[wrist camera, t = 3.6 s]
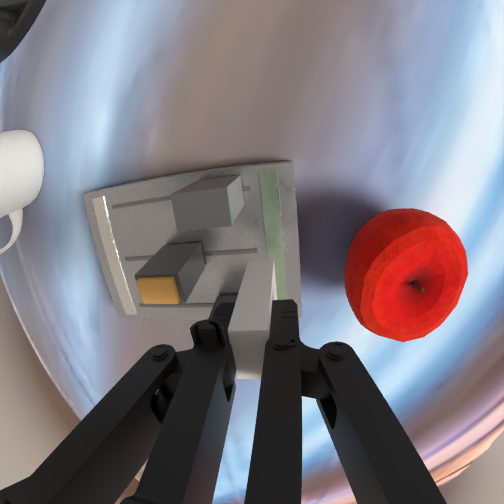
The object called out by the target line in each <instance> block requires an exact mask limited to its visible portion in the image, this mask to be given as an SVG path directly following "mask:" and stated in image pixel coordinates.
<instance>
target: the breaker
mask: <svg viewBox="0 0 504 504" xmlns="http://www.w3.org/2000/svg"><path fill="white" fill-rule="evenodd" d="M171 200H172V206H173V211H174V217H175V222H176V227H177V231H183V230H194V229H205V228H216V227H228V226H232V225H233V224H234V222H235V220H236V218H237V216H238V214H239V213H240V211H241V209H242V207H243V206H244V197H243V189H242V181H241V175H236V176H227V177H218V178H210V179H203V180H197V181H195V182H193V183H191V184H189V185H187V186H185V187H184V188H182V189H180V190H178V191H176V192H174V193H172V194H171Z"/></svg>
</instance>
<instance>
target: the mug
mask: <svg viewBox="0 0 504 504" xmlns="http://www.w3.org/2000/svg"><path fill="white" fill-rule="evenodd" d="M43 177H44V158H43V152H42V149H41V146H40V143H39V141H38V140H37V138H36V137H35V136H34V135H33V134H32V133H31V132H29V131H27V130H12V131H5V132H0V218H1V217H3V216H5V215H8V216H9V218H10V219H11V222H12V226H13V232H12V237H11V239H10V241H9V243H8V244H7V245H6V246H5V247H3V248H1V249H0V254H1V253H3V252H4V251H6V250H7V249H8V248H9V247H11V245H12V244H13V243H14V242H15V241H16V239H17V237H18V236H19V233H20V231H21V227H22V221H23V207H25V206H27V205H29V204H30V203H31V202H33V201H34V199H35V198H36V197H37V195H38V194H39V191H40V189H41V186H42V182H43Z"/></svg>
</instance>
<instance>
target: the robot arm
mask: <svg viewBox="0 0 504 504" xmlns="http://www.w3.org/2000/svg"><path fill="white" fill-rule="evenodd" d="M44 2H45V0H0V62H1V61H2V60H4V59H5V58H6V57H7V56H8V55H9V54H10V53H11V52H12V51H13V50H14V49H15V47H16V46H17V45H18V44H19V42H20V41H21V40H22V38H23V37H24V36H25V34H26V33H27V31H28V30H29V28H30V27H31V25H32V24H33V22H34V20H35V19H36V17H37V15H38V13H39V12H40V10H41V8H42V6H43V4H44ZM190 331H191V335H192V338H193V342H194V347H193V348H192V349H190V350H186V351H180V352H175V349H174V348H173V347H172V346H170V345H165V344H162V345H157V346H154V347H152V348H151V349H149V350H148V351H147V352H146V353H145V354H144V355H143V356H142V357H141V358H140V359H139V360H138V361H137V362H136V363H135V365H134V366H133V367H132V368H131V369H130V370H129V371H128V372H127V373H126V374H125V375H124V376H123V377H122V378H121V379H120V380H119V381H118V383H117V384H116V385H115V386H114V387H113V388H112V389H111V390H110V391H109V392H108V393H107V394H106V395H105V396H104V397H103V398H102V399H101V401H100V402H99V403H98V404H97V405H96V406H95V407H94V408H93V409H92V410H91V411H90V412H89V413H88V414H87V415H86V417H85V418H84V419H83V420H82V421H81V422H80V423H79V424H78V425H77V426H76V427H75V429H73V430H72V432H71V433H70V434H69V435H68V436H67V437H66V438H65V439H64V440H63V441H62V442H61V443H60V445H59V446H58V447H57V448H56V449H55V450H54V451H53V452H52V453H51V454H50V455H49V457H47V459H46V460H45V461H44V462H43V463H42V464H41V465H40V466H39V467H38V468H37V469H36V471H35V472H34V473H33V474H32V475H31V476H30V477H28V478H25V479H24V480H22V481H19V482H17V483H15V484H13V485H11V486H9V487H6V488H4V489H2V490H0V504H114V503H115V502H116V501H117V500H118V498H119V497H120V495H121V494H122V493H123V492H124V490H125V489H126V488H127V486H128V485H129V484H130V482H131V481H132V480H133V478H134V477H135V476H136V474H137V473H138V471H139V470H140V469H141V467H142V466H143V465H144V463H145V462H146V460H147V459H148V458H149V459H148V461H147V464H146V467H145V469H144V472H143V474H142V477H141V480H140V483H139V485H138V488H137V490H136V492H135V494H134V495H133V496H130V497H127V498H125V499H123V500H122V501H121V503H120V504H212V500H213V495H214V491H215V486H216V481H217V477H218V472H219V467H220V462H221V458H222V453H223V448H224V443H225V438H226V434H227V429H228V424H229V419H230V414H231V409H232V404H233V399H234V394H235V389H236V385H235V380H234V378H235V373H236V374H237V379H261V386H260V394H259V402H258V410H257V418H256V425H255V433H254V441H253V448H252V455H251V462H250V469H249V476H248V483H247V490H246V496H245V503H244V504H301V486H302V396H305V397H310V398H315V399H316V402H317V404H318V407H319V409H320V411H321V414H322V416H323V419H324V421H325V424H326V426H327V429H328V431H329V434H330V436H331V439H332V441H333V444H334V446H335V449H336V451H337V454H338V456H339V459H340V461H341V464H342V466H343V469H344V471H345V474H346V476H347V479H348V481H349V484H350V486H351V489H352V491H353V494H354V496H355V499H356V501H357V504H447V503H446V502H445V500H444V498H443V496H442V494H441V493H440V491H439V489H438V487H437V485H436V484H435V482H434V480H433V478H432V476H431V475H430V473H429V471H428V470H427V468H426V466H425V464H424V463H423V461H422V459H421V457H420V456H419V454H418V452H417V451H416V449H415V447H414V446H413V444H412V442H411V441H410V439H409V437H408V436H407V434H406V432H405V431H404V429H403V427H402V426H401V424H400V422H399V421H398V419H397V418H396V416H395V414H394V413H393V411H392V409H391V408H390V406H389V405H388V403H387V401H386V400H385V398H384V397H383V395H382V393H381V392H380V390H379V389H378V387H377V386H376V384H375V382H374V381H373V379H372V378H371V376H370V375H369V373H368V371H367V370H366V368H365V367H364V365H363V364H362V362H361V361H360V359H359V358H358V356H357V354H356V353H355V351H354V350H353V348H352V347H350V346H349V345H348V344H346V343H343V342H330V343H327V344H325V345H323V346H322V347H321V348H320V349H314V348H310V347H308V346H306V345H304V344H303V343H302V342H301V341H300V338H299V324H298V307H297V304H296V302H295V301H294V300H293V299H285V300H277V291H276V279H275V267H274V259H272V260H256V261H248V263H247V266H246V269H245V273H244V276H243V280H242V283H241V286H240V290H239V293H238V297H237V300H236V302H227V303H221V304H220V305H219V306H218V307H217V308H216V309H215V311H214V314H213V316H212V319H206V320H201V321H198V322H196V323H195V324H193V325H192V326H191V328H190ZM158 389H159V390H158ZM157 390H158V391H157ZM156 391H157V392H156Z"/></svg>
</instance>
